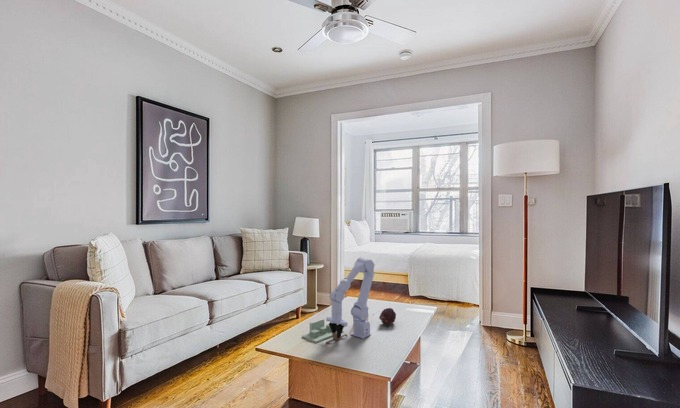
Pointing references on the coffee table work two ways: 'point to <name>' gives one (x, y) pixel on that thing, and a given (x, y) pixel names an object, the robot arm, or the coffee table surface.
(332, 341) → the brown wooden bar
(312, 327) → the mint green baseplate
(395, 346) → the coffee table surface
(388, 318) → the pine cone
